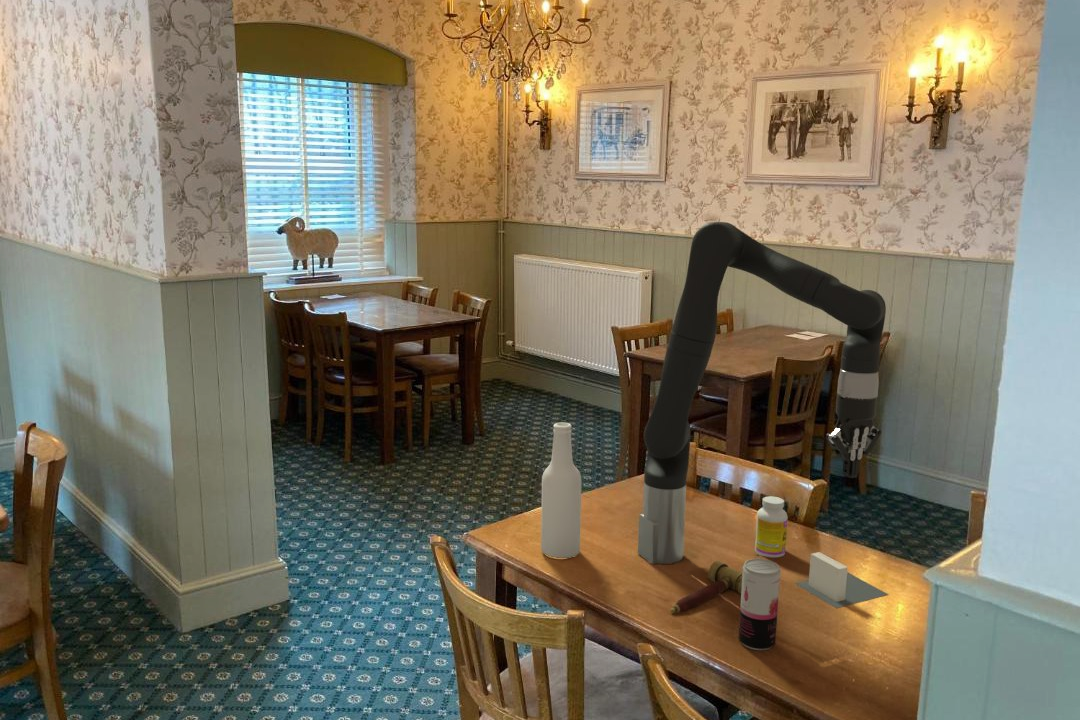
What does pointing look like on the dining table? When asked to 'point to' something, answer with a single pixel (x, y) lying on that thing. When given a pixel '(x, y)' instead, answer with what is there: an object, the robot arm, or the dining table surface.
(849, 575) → the mat
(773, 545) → the supplement bottle
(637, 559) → the dining table surface
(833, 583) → the tile
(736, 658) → the dining table surface
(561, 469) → the alcohol
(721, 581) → the gavel
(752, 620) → the beverage can
